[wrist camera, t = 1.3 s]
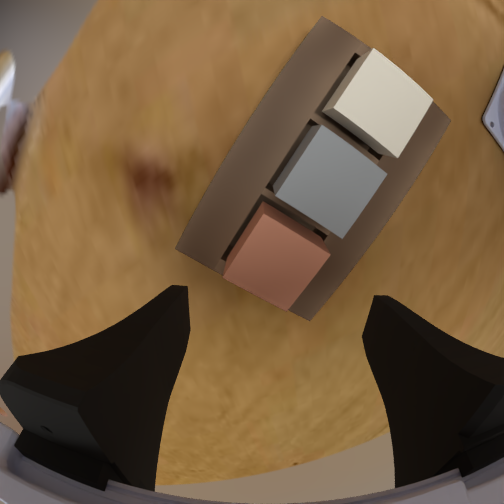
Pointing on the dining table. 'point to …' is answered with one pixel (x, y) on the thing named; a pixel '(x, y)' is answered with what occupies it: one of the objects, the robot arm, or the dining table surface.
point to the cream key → (379, 104)
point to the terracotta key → (275, 257)
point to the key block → (280, 152)
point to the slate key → (328, 180)
